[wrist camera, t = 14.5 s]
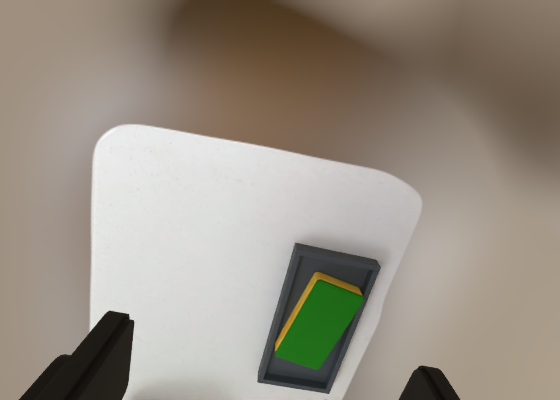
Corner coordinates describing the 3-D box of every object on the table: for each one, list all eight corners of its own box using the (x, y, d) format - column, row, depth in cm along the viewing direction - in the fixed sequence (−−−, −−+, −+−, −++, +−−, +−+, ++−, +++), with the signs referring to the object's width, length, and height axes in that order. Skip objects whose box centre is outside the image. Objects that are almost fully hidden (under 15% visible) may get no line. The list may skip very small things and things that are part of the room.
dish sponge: (274, 342, 41) (274, 356, 39) (315, 269, 37) (318, 280, 35) (316, 357, 42) (318, 371, 40) (360, 287, 38) (366, 299, 36)
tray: (295, 242, 37) (296, 249, 35) (376, 259, 38) (381, 266, 36) (257, 371, 44) (257, 382, 42) (327, 383, 45) (329, 393, 43)
